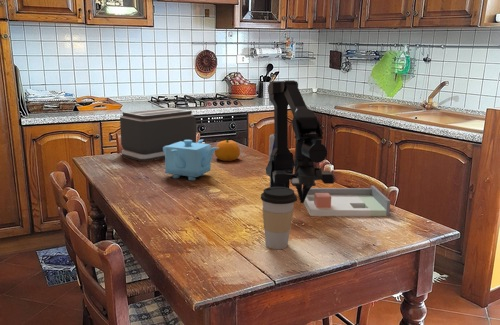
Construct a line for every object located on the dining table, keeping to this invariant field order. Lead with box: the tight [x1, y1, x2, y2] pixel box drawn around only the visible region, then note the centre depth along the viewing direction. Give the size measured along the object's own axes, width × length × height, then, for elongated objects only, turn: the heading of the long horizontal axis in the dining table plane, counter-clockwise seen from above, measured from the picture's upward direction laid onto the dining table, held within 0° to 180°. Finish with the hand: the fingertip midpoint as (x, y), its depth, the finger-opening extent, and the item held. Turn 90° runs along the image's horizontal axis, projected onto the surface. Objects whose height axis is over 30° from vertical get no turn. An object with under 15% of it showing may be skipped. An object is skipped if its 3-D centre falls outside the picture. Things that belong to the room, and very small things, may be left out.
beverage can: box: [268, 133, 275, 162], centre depth 203 cm, size 5×5×15 cm
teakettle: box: [163, 139, 218, 181], centre depth 189 cm, size 19×19×15 cm
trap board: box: [302, 185, 391, 217], centre depth 157 cm, size 25×17×5 cm
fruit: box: [214, 138, 241, 162], centre depth 220 cm, size 12×12×10 cm
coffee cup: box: [260, 186, 298, 250], centre depth 125 cm, size 9×9×15 cm
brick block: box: [314, 193, 331, 208], centre depth 152 cm, size 4×4×4 cm
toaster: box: [119, 107, 197, 162], centre depth 228 cm, size 19×35×20 cm, turn 138°
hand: (301, 202), depth 152 cm, fingers closed
